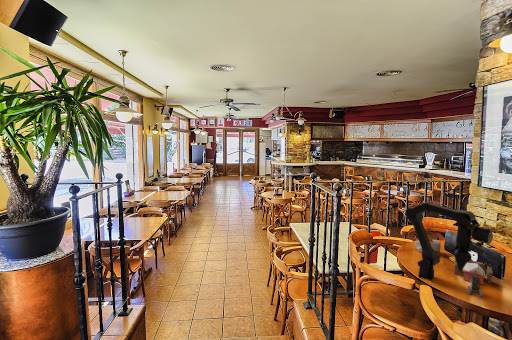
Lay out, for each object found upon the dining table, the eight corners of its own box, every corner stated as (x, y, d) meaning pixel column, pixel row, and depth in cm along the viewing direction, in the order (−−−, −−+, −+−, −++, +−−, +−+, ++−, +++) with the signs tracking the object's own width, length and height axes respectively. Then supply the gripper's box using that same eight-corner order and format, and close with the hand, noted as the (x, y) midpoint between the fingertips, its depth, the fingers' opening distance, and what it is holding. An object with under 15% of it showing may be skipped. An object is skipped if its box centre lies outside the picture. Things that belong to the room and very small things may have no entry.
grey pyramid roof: (458, 276, 148) (467, 268, 141) (462, 264, 153) (471, 256, 146) (475, 286, 144) (485, 278, 137) (479, 273, 149) (489, 265, 142)
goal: (454, 274, 149) (455, 264, 149) (453, 266, 159) (455, 256, 158) (491, 283, 140) (492, 273, 139) (488, 274, 149) (490, 264, 148)
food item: (419, 253, 175) (421, 239, 174) (413, 248, 183) (415, 235, 182) (441, 254, 174) (442, 240, 173) (434, 249, 182) (435, 236, 181)
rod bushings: (468, 294, 130) (468, 291, 130) (467, 288, 135) (468, 286, 134) (482, 298, 127) (482, 295, 127) (480, 292, 132) (481, 289, 131)
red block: (464, 289, 134) (466, 274, 133) (463, 278, 145) (465, 264, 144) (485, 295, 129) (487, 280, 128) (482, 283, 140) (484, 269, 139)
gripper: (487, 246, 117) (483, 279, 119) (483, 234, 132) (479, 264, 134) (456, 240, 124) (452, 271, 126) (455, 229, 139) (452, 257, 141)
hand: (460, 266), depth 132 cm, fingers open, 9 cm apart
